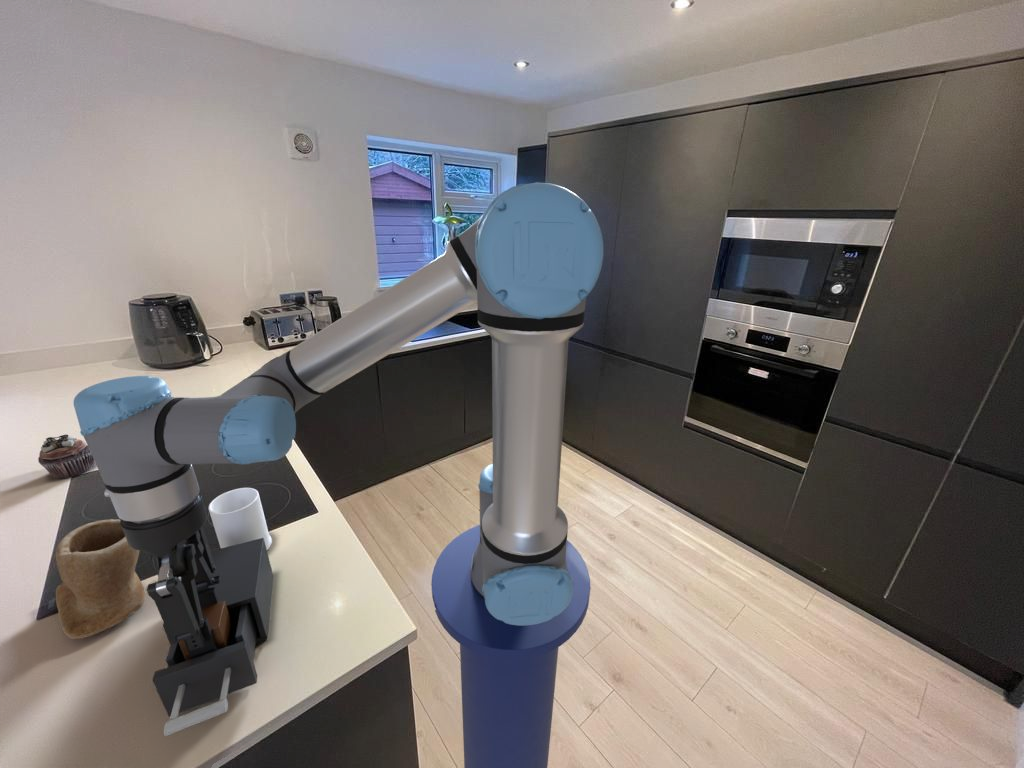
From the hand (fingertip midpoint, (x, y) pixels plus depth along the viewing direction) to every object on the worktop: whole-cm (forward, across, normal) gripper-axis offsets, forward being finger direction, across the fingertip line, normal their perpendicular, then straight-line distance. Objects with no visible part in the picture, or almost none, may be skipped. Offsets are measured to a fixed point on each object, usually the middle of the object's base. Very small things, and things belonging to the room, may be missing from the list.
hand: (210, 640), depth 56 cm
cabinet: (+7, -10, 0) cm, 12 cm away
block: (0, 0, 0) cm, 0 cm away
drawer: (+6, +1, 0) cm, 6 cm away
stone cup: (+7, -22, -19) cm, 30 cm away
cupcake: (+7, -77, -44) cm, 89 cm away
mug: (+7, -28, +1) cm, 29 cm away
